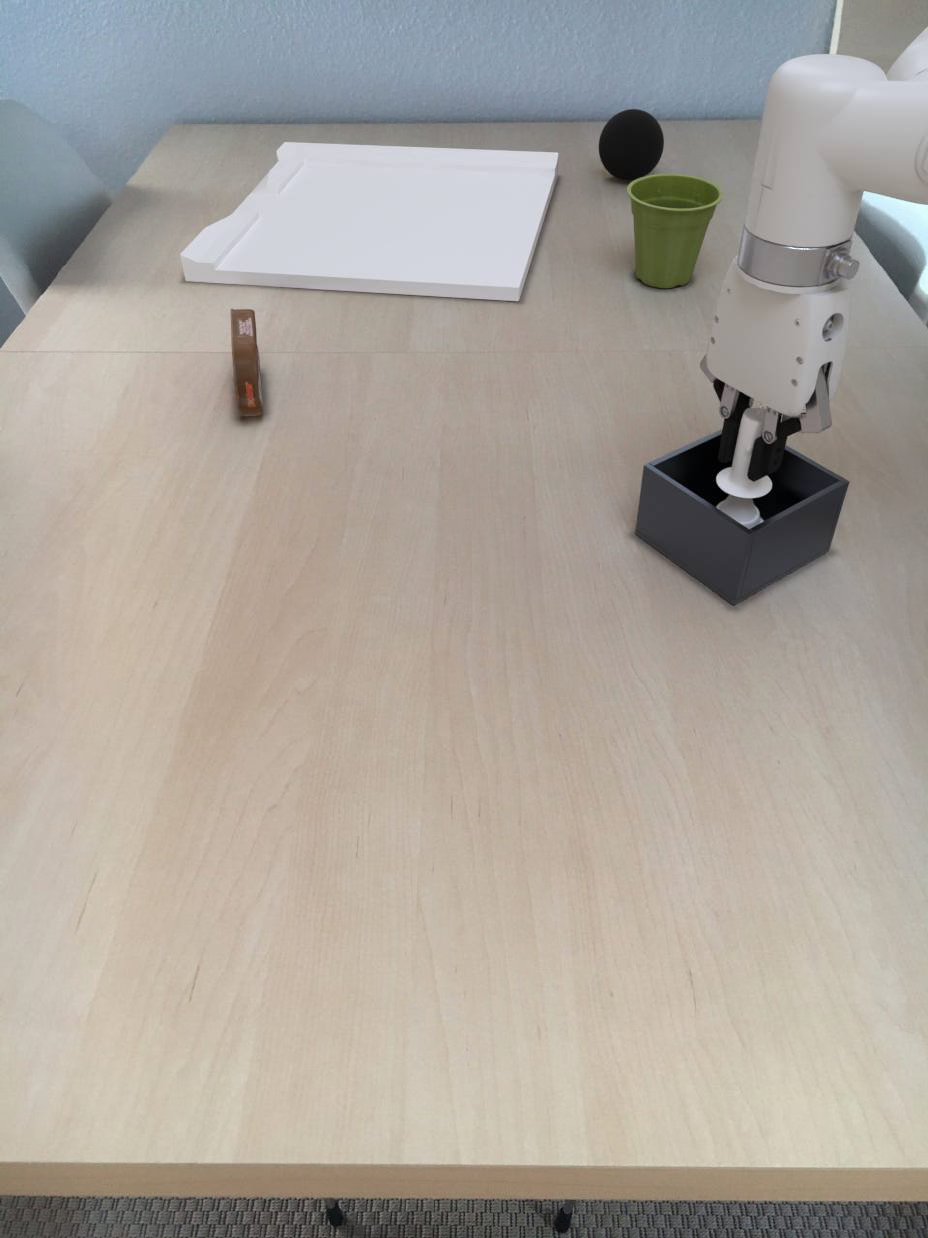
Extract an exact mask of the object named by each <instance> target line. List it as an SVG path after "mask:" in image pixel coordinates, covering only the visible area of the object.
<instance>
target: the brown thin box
mask: <svg viewBox="0 0 928 1238" xmlns="http://www.w3.org/2000/svg"><path fill="white" fill-rule="evenodd" d="M230 337H231V339H230V340H231V341H230V343H231V345H230V346H231V356H232V369H233V379H234V389H235V396H236V405H237V412H238V417H239V418H242V417H252V416H253V417H254V416H261V415H263V414H264V402H263V401H264V400H263V399H264V398H263V397H264V396H263V384H262V374H261V363H260V354H259V353H260V352H259V347H258V338H257V337H258V336H257V323H256V311H255V310H254V309H251V308H241V309H239V308H238V309H234V308H230Z"/></svg>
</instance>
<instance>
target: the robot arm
mask: <svg viewBox="0 0 928 1238" xmlns="http://www.w3.org/2000/svg"><path fill="white" fill-rule="evenodd" d="M754 158H755V159H754V164H753V170H752V176H751V182H750V186H749V187H750V188H749V193H748V198H747V203H746V211H745V215H744V219H743V220H744V221H743V227H742V232H741V238H740V243H739V250H738V254H737V255H736V256H734V257H733V259H732V260H731V262H730V265H729V268H728V269H727V272H726V275H725V277H724V280H723V283H722V285H721V289H720V292H719V294H718V298H717V302H716V305H715V309H714V313H713V317H712V321H711V326H710V330H709V335H708V340H707V348H706V354H704V356H703V358H702V359H701V361H700V362H699V368H700V370H701V371H702V372H703V374H704V375H705V376H706V378H707V379H708V380H709V382H710V383H711V384H712V386H713V390H714V392H715V395H716V397H717V398H718V401H719V407H718V413H719V415H720V417H721V418H722V419H724V420H723V423H722V424H723V425H722V428H721V429H722V434H721V440H720V449H719V454H718V460H719V461H720V462H722V463H727V462H729V461H731V460H733V458H734V453H735V448H736V443H737V438H738V433H739V428H740V424H741V420H742V416H743V413H744V411H745V410H746V409H747V408H753V404H754V400H755V401H757V402H759V403H761V404H762V405H764V406H766V407H765V409H766V413H765V419H764V426H763V432H762V436H760V437H758V438H757V439H756V440H755V441H754V445H753V450H752V455H751V460H750V464H749V469H748V474H747V476H748V479H750V480H751V481H753V482H755V481H757V480H759V479H761V478H763V477H765V476H767V475H769V474H771V473H773V472H775V471H776V470H777V469H778V468H779V467H780V465H781V462H782V458H783V454H784V450H785V445H787V442H788V437H790V436H792V435H794V434H796V433H802V434H820V433H822V432H824V431H826V430H828V429H830V428H831V427H832V425H833V420H832V414H831V408H830V407H831V406H830V402H831V401H833V399H834V398H835V396H836V394H837V391H838V388H839V384H840V380H841V376H842V372H843V367H844V361H845V356H846V352H847V346H848V340H849V332H850V325H851V314H852V281H851V280H852V279H854V277H855V276H856V275H857V273H858V272H859V268H860V261H859V260H857V259H854V258H852V256H851V255H850V253H851V249H852V245H853V240H852V238H853V235H854V232H855V227H856V224H857V219H858V216H859V212H860V209H861V204H862V200H863V197H864V196H863V195H864V192H867V193H871V194H876V195H880V196H882V197H883V196H884V197H887V198H892V199H896V200H899V201H903V202H907V203H913V204H918V205H923V206H928V26H927V27H925V29H923V31H922V32H920V33H919V34H918V36H917V37H915V39H913V41H911V42H910V44H909V45H907V46H906V48H905V49H904V50H903V51H902V52H901V54H899V56H898V57H897V59H896V60H895V61H894V62H893V63H892V64H891V66H890V68H889V70H888V71H887V72H886V73H885V71H884V70H883V69H882V68H881V67H880V66H879V65H878V64H876V63H875V62H872V61H869V60H867V59H864V58H862V57H857V56H854V55H853V56H852V55H847V54H846V55H845V54H836V53H815V54H814V53H813V54H805V55H801V56H798V57H793V58H791V59H788V60H786V61H785V62H783V63H782V64H780V65H779V66H778V67H777V68H776V70H775V71H774V72H773V74H772V76H771V78H770V80H769V83H768V87H767V91H766V96H765V101H764V106H763V112H762V119H761V123H760V130H759V136H758V141H757V146H756V153H755V157H754ZM804 408H805V411H806V412H803V411H804Z"/></svg>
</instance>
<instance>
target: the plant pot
mask: <svg viewBox="0 0 928 1238" xmlns="http://www.w3.org/2000/svg"><path fill="white" fill-rule="evenodd" d="M626 193H627V196H628V197H629V199H630V207H631V214H632V218H633V238H634V240H633V241H634V264H635V276H636V277H635V278H637V279H639V280H641V282H642V283H643V284H645V285H647V286H650V287H654V288H660V289H673V288H675V287H676V286H685V285H686V284H688V283H689V282H690V281H691V279H692V276H693V273H694V270H695V268H696V267H695V266H696V264H697V261H698V258H699V255H700V251H701V250H702V246H703V243H704V240H705V236H706V233H707V230H708V228H709V225H710V221H711V220H712V219H713V217H714V214H715V211H716V209H717V206H718V204H720V203H721V202H722V200H723V199H724V191H723V189H722V187H721V186H719V185H718V184H717V183H716V182H715V183H714V182H713V181H711V180H709V179H705V178H702V177H699V176H694V175H689V174H683V173H658V174H657V173H656V174H648V175H646V176H644V177H641V178H638V179H636V180H631V181H630V182H629V184H628V185H627V187H626Z"/></svg>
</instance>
